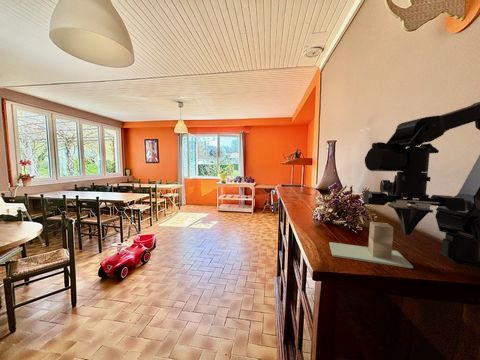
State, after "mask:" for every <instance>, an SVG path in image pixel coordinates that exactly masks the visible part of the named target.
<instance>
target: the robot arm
mask: <svg viewBox="0 0 480 360" xmlns="http://www.w3.org/2000/svg"><path fill="white" fill-rule="evenodd" d="M473 122H474V124H475V128H476V130H479V131H480V101H478V102H474V103H472V104H470V105H468V106H466V107H462V108H458V109H456V110H453V111H450V112H446V113H443V114H441V115H431V116H426V117H419V118H417V119H412V120H409V121H408V120H407V121H404V122H401V123H399V124H398V125H397V126H396V129H395V131H394V133H393V134H392V135H391V137H390V138H389V139H388V140H387V142H381V141H379V142H372V143H371V147H370V149H369V150H368V151H367V153H366V155H365V157H364V165H365V167H366V169H367V170H368V171H371V172H396V175H394V179H393V181H391V180H390V179H381V180H380V183H379V184H380V185H379V191H370V190H368V191H367V190H366V191H365V192H364V193H363V197H362V199H363V200H362V202H365V204H368V205H372V206H385V205H386V204H387V206H388V207H389V208H392V209H393V211H395V214H396V215H397V217H398V218H397V219H398V220H399V222H400V224H399V225H400V226H401V229H402V233H403V234H404V235H405V236H410V235H412V232H413V231H414V230H415V228H416V227H417V226H418V224H419V223H420V222H421V221H422V220H424V218H425V217H426V216H427V215H428V214H429V213H432V214H433V213H434V210H433V209H431V206H432V207H433V206H434V207H437V208H435V211H436V213H435V215H434V216H435V220H436V223H437V226H438V230H439V232H440V233H445V235H444V236H445V238H442V244H441V251H439V254H441V256H444V257H445V258H447V259H448V260H450V261H451V262H453V263H456V264H459V265H465V266H466V265H467V266H475V267H480V154H479V155H478V157H477V159H476V161H475V163H474V164H473V166H472V168H471V170H470V172H469V173H468V174H467V177H466V178H465V180H464V181H463V182H464V183H463V184H462V186H461V188H460V190H459V191H458V193H457V194H456V195H454V196H453V195H444V194H443V195H442V194H432V195H431V196H430V195H429V194H427V186H428V185H427V184H428V182H431V178H432V177H431V176H428V175H429V165H430V155H431V154H438V153H439V152H440V150H439V149H437V147H435V146H434V145H433V144H432V143H430V142H433V141H435V140H436V139H439V138H440V137H442V136H443V135H444V134H445V133H446V132H448V131H450V130H452V129H456V128H458V127H461V126H465V125H467V124H470V123H473Z"/></svg>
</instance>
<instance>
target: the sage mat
mask: <svg viewBox="0 0 480 360" xmlns="http://www.w3.org/2000/svg"><path fill="white" fill-rule="evenodd" d="M328 244H329V248H330V252H331V255H332V257H335V258H342V259H347V260H355V261H359V262H360V261H361V262H367V263H374V264H379V265H380V264H381V265H387V266H393V267H401V268H406V269H414V266H413V265H412V264H411V263H410V262H409V261H408V260H407V259H406V258H405V256H403V255H402V254H401V253H400V252H399V251H398V250H393V249H392V255H391V259H387V258H380V257H373V256H372V255H371V254H370V252H369V251H368V246H362V245H355V244H354V245H353V244H345V243H339V242H331V241H329V242H328Z"/></svg>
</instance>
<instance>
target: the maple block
mask: <svg viewBox="0 0 480 360" xmlns="http://www.w3.org/2000/svg"><path fill="white" fill-rule="evenodd" d="M368 232H369V233H368V246H367V247H368V251H369V252H370V254H371V255H372V256H373V257H380V258H387V259H391V255H392V250H393V240H394V227H393V226H392V225H391V224H389V223H387V222H377V221H376V222H375V221H369V231H368Z"/></svg>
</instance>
